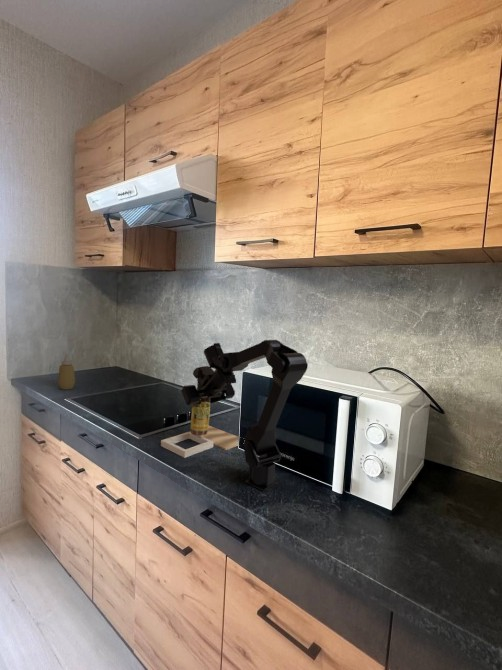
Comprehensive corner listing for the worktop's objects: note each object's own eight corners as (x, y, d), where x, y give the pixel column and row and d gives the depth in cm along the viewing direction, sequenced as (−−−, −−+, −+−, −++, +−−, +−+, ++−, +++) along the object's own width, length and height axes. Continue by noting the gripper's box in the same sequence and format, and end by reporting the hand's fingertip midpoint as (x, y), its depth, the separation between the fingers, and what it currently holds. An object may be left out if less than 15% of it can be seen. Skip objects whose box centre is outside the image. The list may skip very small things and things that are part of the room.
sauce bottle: (191, 437, 120) (193, 379, 119) (189, 430, 126) (191, 375, 125) (210, 435, 122) (213, 378, 121) (207, 429, 128) (209, 375, 127)
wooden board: (247, 441, 128) (247, 440, 128) (225, 450, 120) (226, 448, 120) (208, 427, 141) (208, 425, 141) (187, 433, 133) (187, 432, 133)
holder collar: (213, 447, 122) (213, 441, 122) (184, 457, 113) (184, 451, 112) (189, 436, 130) (189, 431, 130) (160, 446, 120) (161, 440, 120)
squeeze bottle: (76, 386, 191) (76, 353, 189) (73, 390, 183) (74, 355, 182) (59, 386, 188) (59, 352, 187) (56, 390, 181) (56, 355, 179)
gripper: (231, 358, 125) (212, 382, 135) (185, 361, 113) (167, 388, 122) (244, 384, 120) (223, 408, 129) (197, 391, 108) (178, 417, 117)
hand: (198, 405), depth 125 cm, fingers closed on sauce bottle, 6 cm apart
